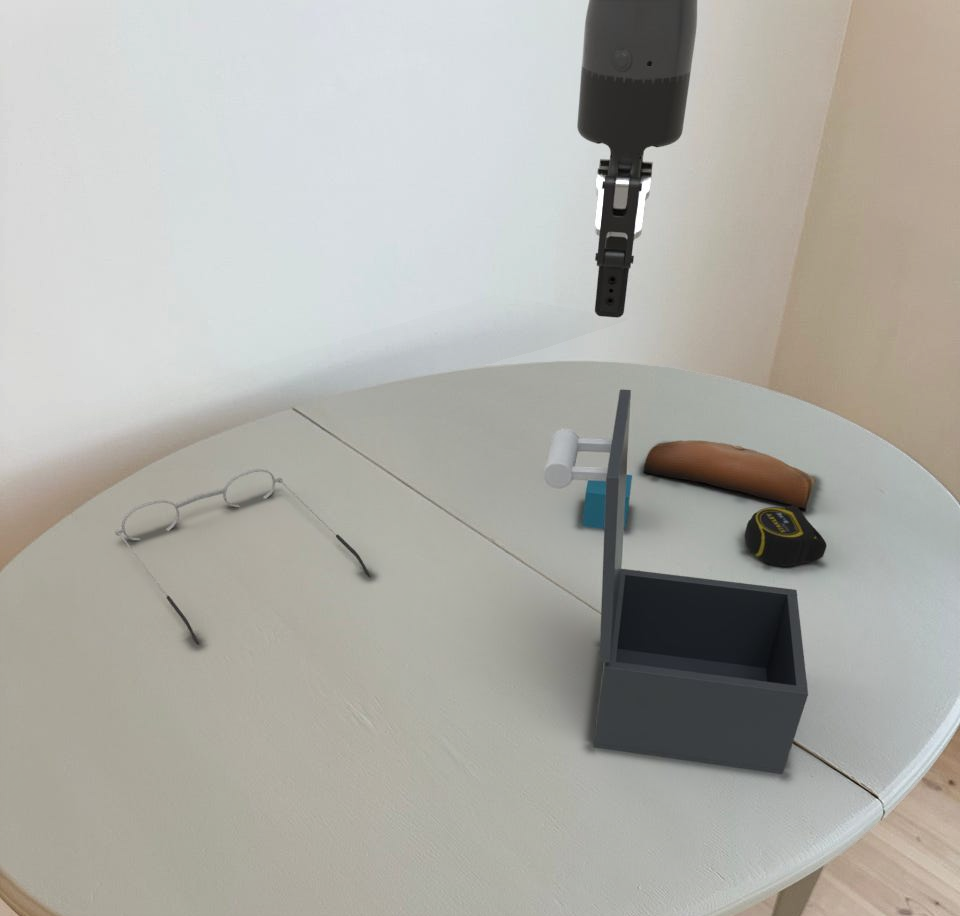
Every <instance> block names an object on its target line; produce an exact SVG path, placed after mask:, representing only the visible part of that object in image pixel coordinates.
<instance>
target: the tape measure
mask: <svg viewBox="0 0 960 916" xmlns="http://www.w3.org/2000/svg"><path fill="white" fill-rule="evenodd" d="M744 532H745V533H744V540H745V544H746V547H747V549H748V550H749V552H750V553H751V554H752V555H753V556H755V557H756V558H758V560H760V561H761V562H765V563H767V564H771V565H773V566H781V567H793V566H798V565H800V564H804V563H810V562H811V563H812V562H816V561H818V560H820V559H822V558H824V555H825V552H826V549H827V542H826V540H825V538H824V537H823V536H822V534H821V533H820V532H819V531H818V530H817V529H816V528H815V527H814V526H813V524H811V522H809V520H808V519H807V518H806V516H805V514H804V513H803V512H802V511H801V510H800V507H796V506H794V505H790V506H789V505H788V506H785V507H784V508H783V507H778V506H770V507H764V508H762V509H759V510H757V511H756V512H755V513H753V514H752V516H751V518H750V519H749V520H748V521H747V524H746V527H745V531H744Z"/></svg>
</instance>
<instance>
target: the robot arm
mask: <svg viewBox="0 0 960 916" xmlns="http://www.w3.org/2000/svg"><path fill="white" fill-rule="evenodd" d="M585 15H586V16H585V19H584V20H585V21H584V28H583V29H584V31H583V42H582V43H583V44H582V45H583V46H582V58H581V59H582V60H581V68H580V69H581V71H580V83H579V97H578V98H579V100H578V109H577V110H578V111H577V122H576V123H577V127H576V128H577V131H578V134H579V135H580V136H581V137H582V138H583V139H585V140H587V141H589V142H591V143H593V144H597V145H601V144H603V145H606V146H607V147H608V148H609V151H610V156H609V159H608V158H607V159H606V158H600V159H599V163H598V168H597V172H596V182H595V194H596V196H597V203H596V213H595V221H594V233H595V234H596V235H597V236H598V245H597V246H598V247H597V252H595V256H594V257H595V258H594V261H595V262H596V267H598V271H597V272H598V273H597V281H596V282H597V283H596V293H595V304H594V313H595V315H597V316H598V317H605V318H617V319H618V318H621V317H622V316H623V315H624V313H625V305H626V297H627V291H628V290H627V288H628V281H629V274H630V273H629V271H630V269H631V267H632V265H633V264H634V259H635V255H633V250H634V249H633V248H634V242H635V240H636V239H638V238H640V237H641V235H642V232H643V231H642V230H643V224H644V215H645V208H646V207H645V206H646V201H647V199H648V198H649V197H650V192H651V187H652V186H651V184H652V175H653V165H654V162H653V161H644V154H645V150H646V149H647V148H650V147H655V148H662V147H666V146H669V145H673V144H674V143H676V142H677V141H679V139H680V138H681V137H682V134H683V129H684V122H685V116H686V108H687V101H688V93H689V86H690V79H691V72H692V65H693V58H694V51H695V43H696V37H697V36H696V35H697V28H698V27H697V26H698V0H588V4H587V9H586V14H585ZM631 264H632V265H631Z"/></svg>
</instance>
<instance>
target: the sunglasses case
mask: <svg viewBox="0 0 960 916" xmlns="http://www.w3.org/2000/svg"><path fill="white" fill-rule="evenodd" d="M643 473H647V474H652V475H658V476H663V477H668V478H674V479H679V480H682V479H684V480H687V481H691V482H698V483H705V484H707V485H711V486H715V487H718V488H723V489H726V490H729V491H730V490H731V491H737V492H742V493H745V494H747V495H751V496H753V497H758V498H763V499H768V500H771V501H775V502H779V503H783V504H786V505H790V506H796V507H797V508H802V510H803V511H805V512H806V511H807V507H808V502H809V499H810V496H811V493H812V490H813V486H814V484H815V482H816V479H815V478H814V477H812V476H811V475H809V474H808V473H806V472H805V471H803V470H801V469H799V468H797V467H794V466H791V465H789V464H788V463H786V462H784V461H782V460H780V459H778V458H776V457H774V456H773V455H772V456H771V455H770V454H767V453H763V452H760V451H757V450H754V449H751V448H745V447H742V446H741V445H732V444H729V443H724V442H715V441H708V440H675V441H672V440H671V441H667V442H661V443H657V444H656V445H654V446H652V447H651V449H650V450H649V452H648V453H647V456H646V458H645V462H644V465H643Z"/></svg>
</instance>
